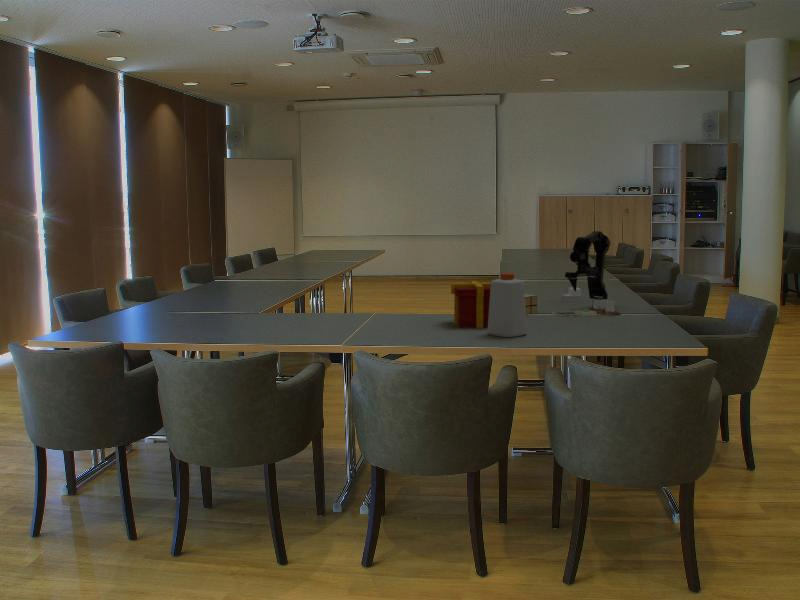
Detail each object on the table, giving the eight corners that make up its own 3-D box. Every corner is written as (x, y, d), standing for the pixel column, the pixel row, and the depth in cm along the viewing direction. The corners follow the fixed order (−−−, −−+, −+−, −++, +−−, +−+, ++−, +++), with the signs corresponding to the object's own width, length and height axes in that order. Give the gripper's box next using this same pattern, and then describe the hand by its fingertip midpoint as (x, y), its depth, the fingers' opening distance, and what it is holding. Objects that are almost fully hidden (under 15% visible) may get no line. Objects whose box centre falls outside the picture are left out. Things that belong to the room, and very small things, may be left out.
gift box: (506, 328, 382) (506, 286, 379) (454, 329, 380) (454, 286, 378) (497, 320, 406) (497, 280, 404) (448, 320, 405) (448, 281, 402)
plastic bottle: (505, 330, 374) (506, 271, 370) (530, 334, 363) (531, 273, 359) (483, 334, 364) (483, 273, 361) (508, 338, 353) (508, 276, 349)
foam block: (559, 301, 479) (559, 287, 478) (576, 301, 480) (576, 287, 479) (563, 303, 470) (563, 289, 469) (581, 303, 470) (581, 289, 469)
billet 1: (592, 312, 422) (593, 298, 421) (600, 311, 424) (600, 298, 423) (598, 313, 418) (598, 299, 417) (605, 312, 419) (605, 299, 418)
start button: (580, 315, 414) (580, 309, 414) (586, 314, 416) (586, 309, 416) (584, 316, 411) (584, 310, 410) (590, 315, 412) (591, 310, 412)
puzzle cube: (510, 313, 427) (511, 295, 426) (524, 312, 433) (524, 293, 432) (524, 315, 419) (524, 297, 418) (537, 314, 425) (537, 295, 424)
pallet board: (586, 314, 423) (586, 309, 423) (601, 312, 427) (601, 307, 426) (606, 318, 407) (606, 313, 406) (622, 317, 410) (623, 312, 410)
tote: (551, 314, 423) (551, 312, 422) (568, 313, 427) (568, 311, 426) (562, 317, 412) (562, 315, 412) (580, 315, 417) (580, 313, 416)
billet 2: (604, 313, 415) (605, 300, 414) (613, 314, 414) (614, 300, 413) (605, 315, 411) (605, 301, 410) (614, 315, 410) (614, 301, 409)
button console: (574, 316, 416) (574, 310, 415) (587, 315, 419) (587, 309, 418) (583, 318, 408) (583, 312, 408) (596, 317, 411) (596, 311, 411)
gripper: (577, 263, 405) (577, 293, 407) (607, 261, 413) (606, 291, 415) (564, 261, 415) (564, 291, 417) (593, 260, 423) (593, 289, 425)
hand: (582, 290), depth 418 cm, fingers open, 9 cm apart
